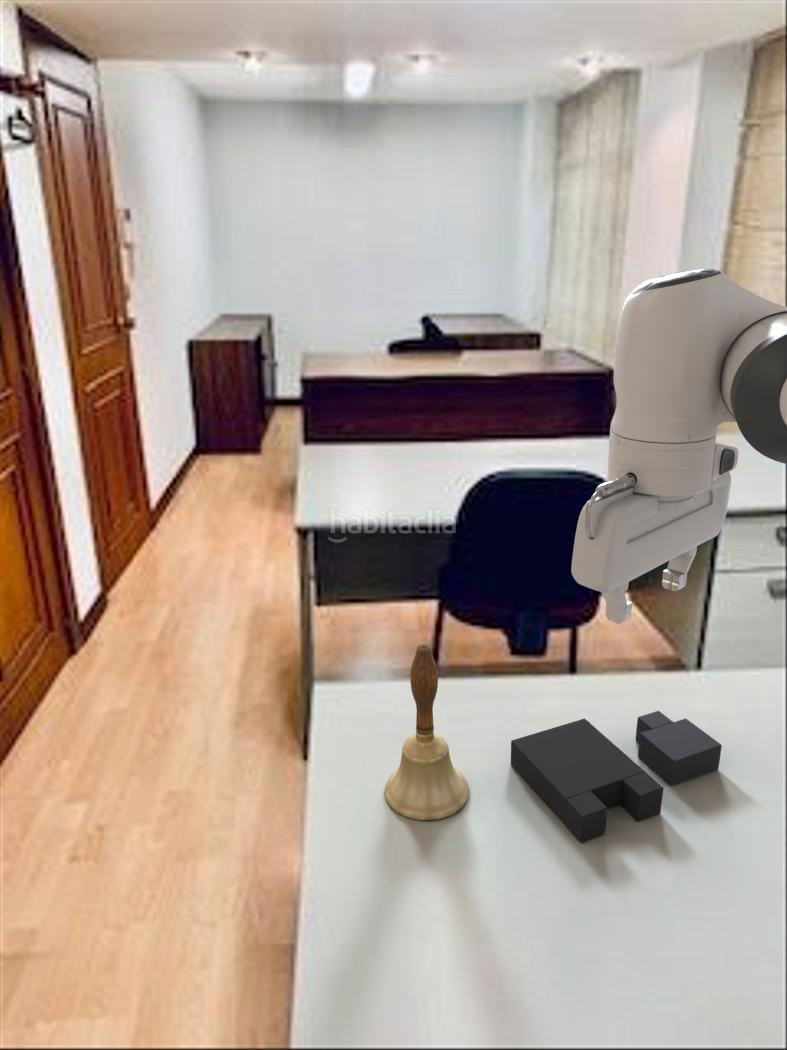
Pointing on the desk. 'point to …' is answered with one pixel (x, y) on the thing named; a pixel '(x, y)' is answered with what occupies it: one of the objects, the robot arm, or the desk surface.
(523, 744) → the black pad
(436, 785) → the hand bell
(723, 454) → the robot arm
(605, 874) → the desk surface
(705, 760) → the graphite pad
